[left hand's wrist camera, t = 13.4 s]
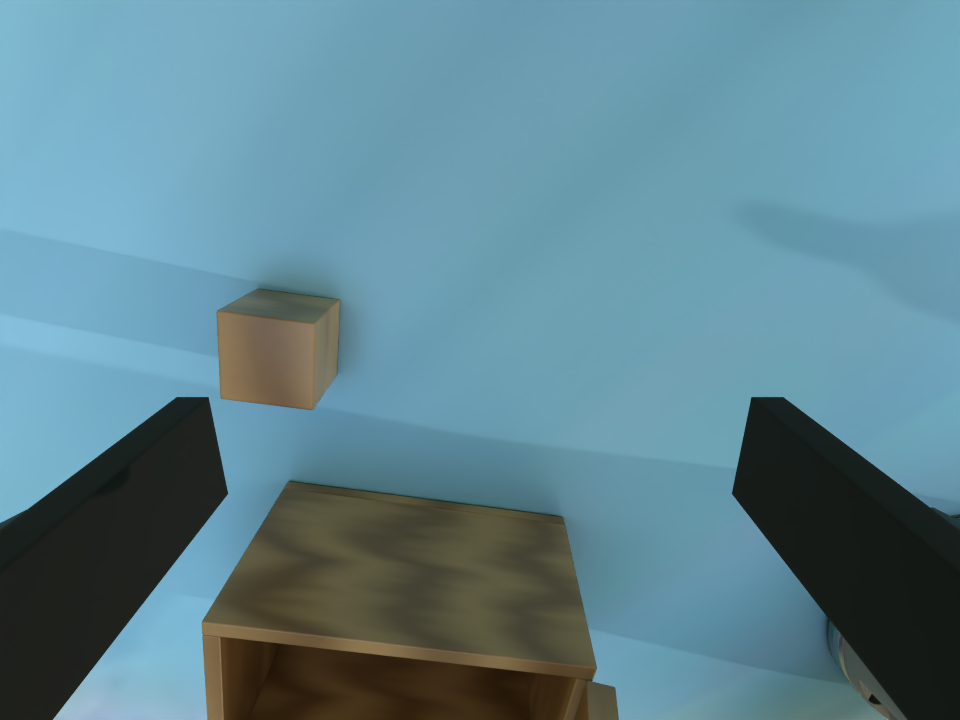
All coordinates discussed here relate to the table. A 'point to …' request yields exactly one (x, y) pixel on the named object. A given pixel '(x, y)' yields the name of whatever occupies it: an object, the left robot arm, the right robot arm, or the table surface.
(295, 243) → the table surface
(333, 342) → the block
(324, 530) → the chest
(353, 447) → the table surface
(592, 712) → the lid
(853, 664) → the right robot arm
